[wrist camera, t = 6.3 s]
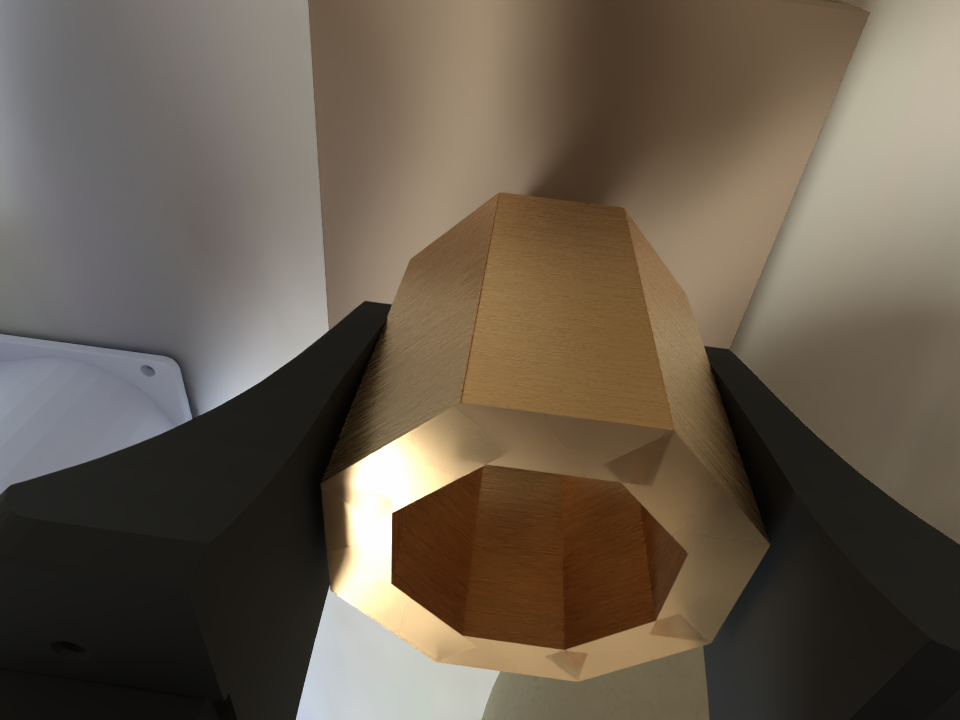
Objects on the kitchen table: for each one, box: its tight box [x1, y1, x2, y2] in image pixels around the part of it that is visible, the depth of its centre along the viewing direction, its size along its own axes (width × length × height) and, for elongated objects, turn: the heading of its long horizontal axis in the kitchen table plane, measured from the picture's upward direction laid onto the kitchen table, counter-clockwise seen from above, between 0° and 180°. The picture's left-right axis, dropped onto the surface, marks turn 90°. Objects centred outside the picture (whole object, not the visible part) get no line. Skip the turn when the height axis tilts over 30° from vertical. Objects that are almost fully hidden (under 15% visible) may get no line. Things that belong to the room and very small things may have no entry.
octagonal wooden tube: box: [321, 192, 770, 682], centre depth 11 cm, size 6×6×6 cm
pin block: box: [308, 0, 870, 349], centre depth 16 cm, size 12×12×6 cm
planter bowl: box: [482, 646, 709, 720], centre depth 24 cm, size 16×16×11 cm
